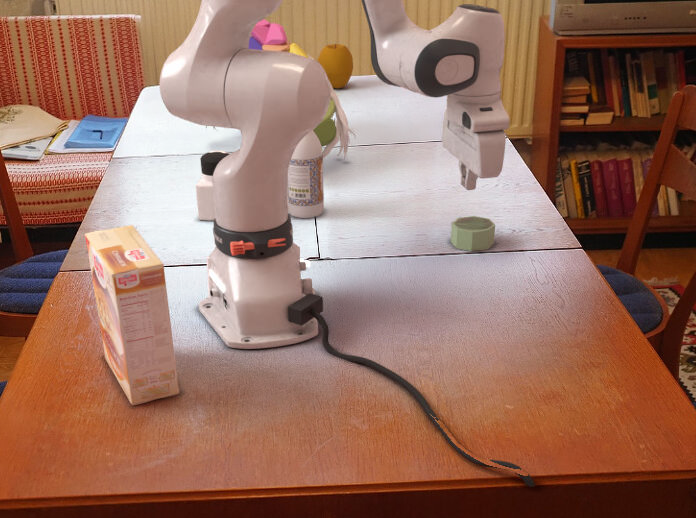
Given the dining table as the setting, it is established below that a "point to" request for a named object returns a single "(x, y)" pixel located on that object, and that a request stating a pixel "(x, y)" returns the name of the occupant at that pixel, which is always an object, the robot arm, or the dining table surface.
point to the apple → (337, 64)
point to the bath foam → (306, 179)
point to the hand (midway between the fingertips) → (467, 187)
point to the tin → (472, 233)
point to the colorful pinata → (327, 131)
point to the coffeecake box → (133, 313)
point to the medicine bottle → (207, 184)
